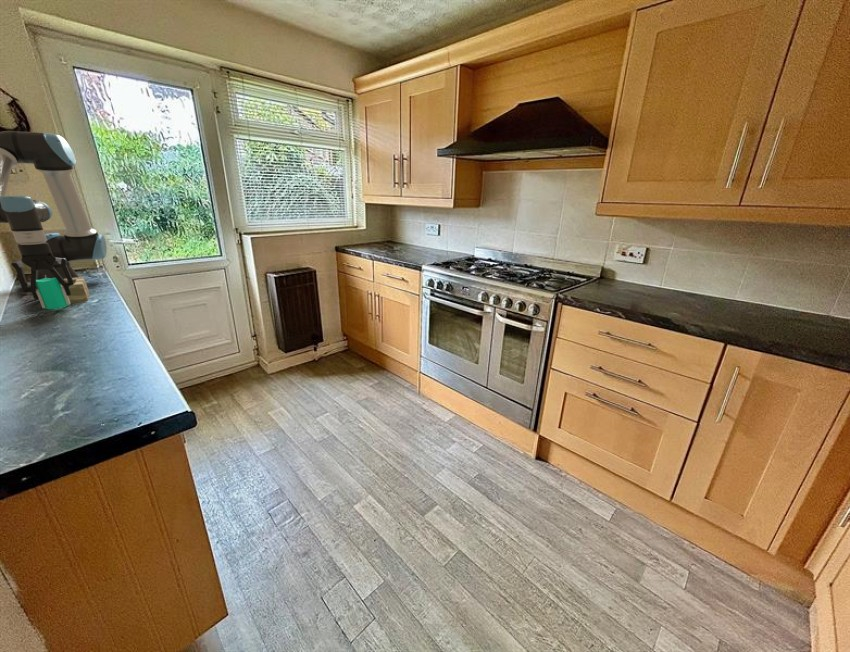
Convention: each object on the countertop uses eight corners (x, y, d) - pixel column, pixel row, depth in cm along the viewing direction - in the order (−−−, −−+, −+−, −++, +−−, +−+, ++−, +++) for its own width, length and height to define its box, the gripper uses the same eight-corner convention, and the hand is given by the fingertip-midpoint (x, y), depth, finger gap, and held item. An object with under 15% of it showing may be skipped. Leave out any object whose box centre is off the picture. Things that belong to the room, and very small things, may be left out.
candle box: (50, 296, 147) (44, 280, 144) (89, 292, 154) (83, 276, 152) (46, 306, 135) (39, 288, 133) (87, 300, 143) (82, 284, 140)
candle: (72, 304, 133) (61, 273, 129) (55, 309, 128) (43, 277, 123) (58, 303, 134) (46, 272, 129) (41, 308, 128) (28, 276, 124)
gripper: (-11, 246, 114) (18, 313, 122) (69, 242, 125) (90, 303, 134) (-6, 243, 119) (21, 307, 127) (70, 239, 130) (90, 298, 139)
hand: (56, 305), depth 131 cm, fingers closed on candle, 6 cm apart
